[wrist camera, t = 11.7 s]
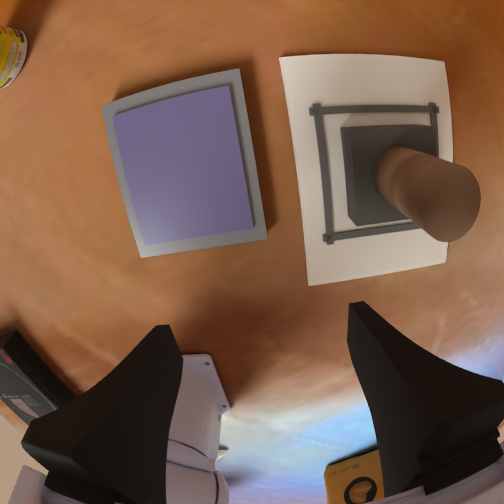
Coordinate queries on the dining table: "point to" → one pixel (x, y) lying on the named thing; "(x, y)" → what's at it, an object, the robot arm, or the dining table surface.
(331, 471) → the coffee package
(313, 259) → the marked board
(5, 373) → the portable cd player
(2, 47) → the supplement bottle
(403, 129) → the stamp
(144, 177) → the ink pad
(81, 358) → the dining table surface
